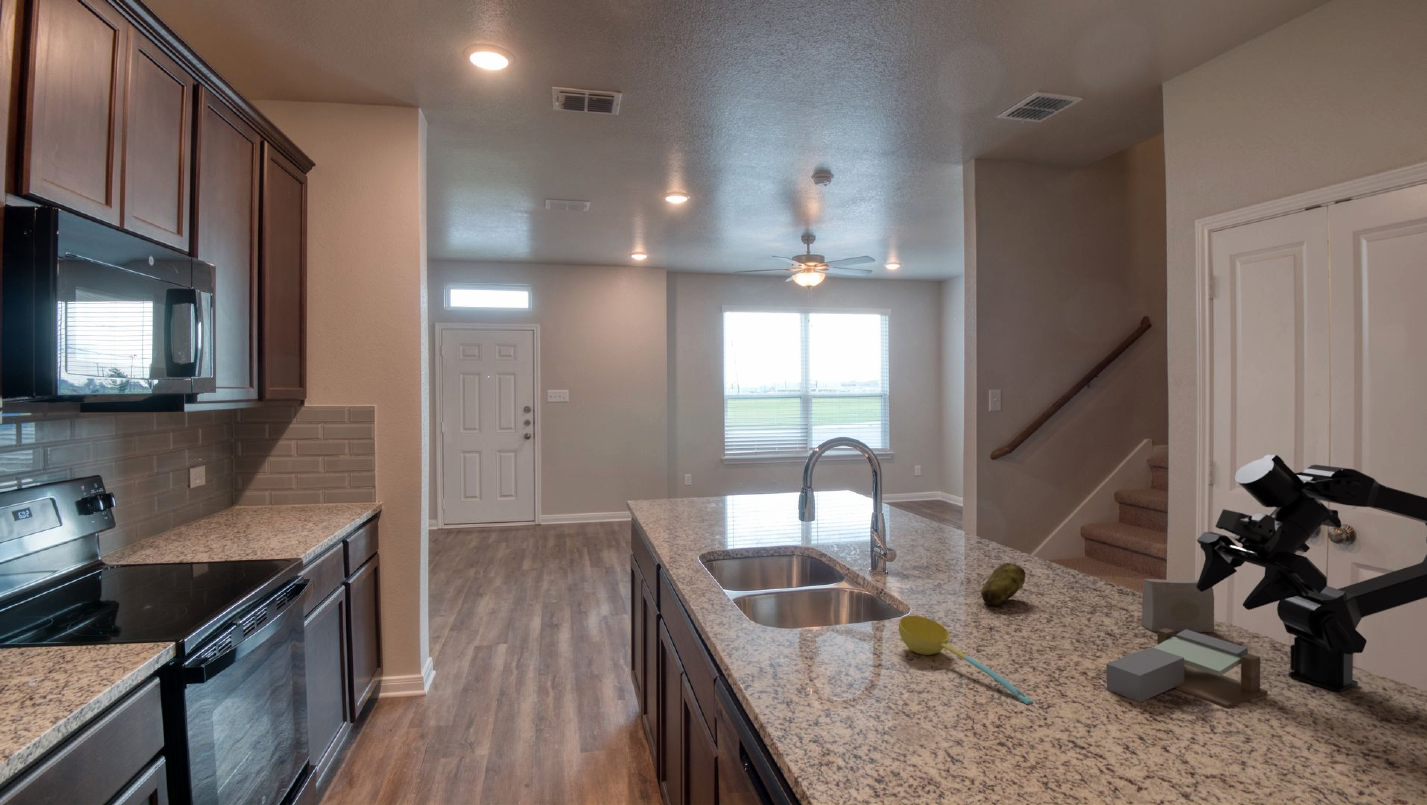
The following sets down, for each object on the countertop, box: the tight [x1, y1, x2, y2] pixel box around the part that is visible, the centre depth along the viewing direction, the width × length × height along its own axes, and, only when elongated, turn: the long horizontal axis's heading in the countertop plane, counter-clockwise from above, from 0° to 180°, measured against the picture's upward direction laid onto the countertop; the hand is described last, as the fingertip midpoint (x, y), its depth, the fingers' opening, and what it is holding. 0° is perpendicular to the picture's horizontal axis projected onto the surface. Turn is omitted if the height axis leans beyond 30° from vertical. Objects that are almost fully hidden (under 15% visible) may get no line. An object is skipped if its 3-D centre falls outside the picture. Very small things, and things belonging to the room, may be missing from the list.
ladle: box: [898, 615, 1034, 705], centre depth 109 cm, size 9×26×6 cm, turn 26°
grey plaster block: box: [1140, 578, 1215, 633], centre depth 128 cm, size 12×4×10 cm, turn 89°
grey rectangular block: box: [1105, 646, 1184, 703], centre depth 103 cm, size 4×5×12 cm
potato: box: [980, 562, 1026, 606], centre depth 145 cm, size 8×13×8 cm, turn 112°
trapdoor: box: [1153, 629, 1249, 676], centre depth 106 cm, size 10×9×2 cm
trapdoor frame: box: [1156, 628, 1268, 709], centre depth 105 cm, size 15×11×6 cm
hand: (1221, 598), depth 105 cm, fingers open, 9 cm apart
